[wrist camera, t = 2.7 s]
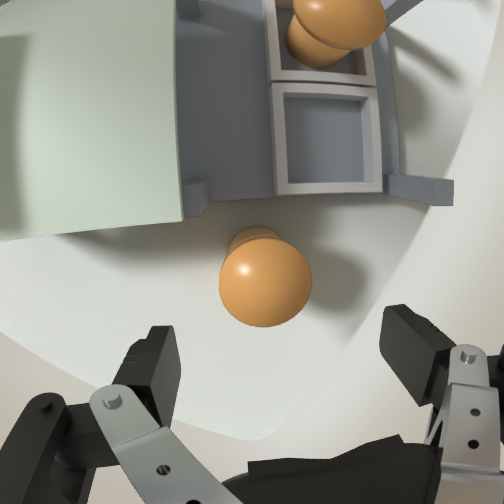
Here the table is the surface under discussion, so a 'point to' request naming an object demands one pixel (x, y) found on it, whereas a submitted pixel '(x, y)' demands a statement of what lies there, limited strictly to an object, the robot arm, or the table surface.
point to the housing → (284, 112)
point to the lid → (87, 116)
